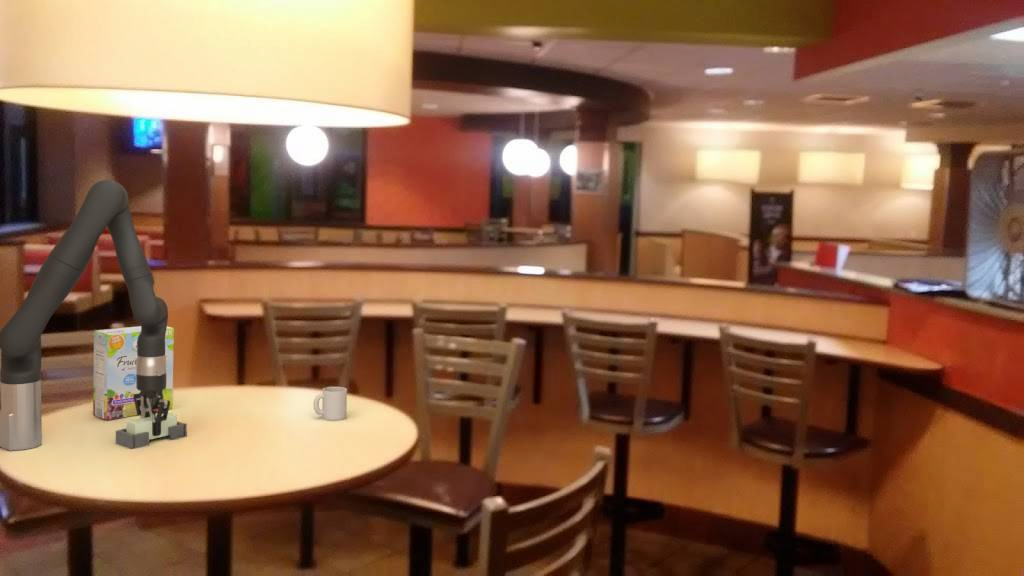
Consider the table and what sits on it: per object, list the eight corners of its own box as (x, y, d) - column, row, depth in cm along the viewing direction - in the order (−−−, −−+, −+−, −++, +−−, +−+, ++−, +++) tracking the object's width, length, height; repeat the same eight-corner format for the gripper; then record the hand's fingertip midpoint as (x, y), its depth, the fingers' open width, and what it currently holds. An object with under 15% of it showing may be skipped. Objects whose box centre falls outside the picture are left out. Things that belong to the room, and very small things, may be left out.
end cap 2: (170, 431, 256) (170, 419, 256) (186, 436, 252) (186, 424, 251) (154, 434, 252) (154, 422, 252) (170, 440, 248) (170, 427, 247)
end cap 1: (131, 449, 238) (131, 436, 238) (115, 443, 243) (115, 430, 242) (148, 445, 242) (148, 432, 242) (133, 439, 247) (133, 427, 246)
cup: (348, 420, 275) (349, 391, 274) (315, 422, 271) (316, 393, 270) (343, 414, 282) (343, 386, 281) (310, 416, 278) (311, 387, 277)
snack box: (107, 422, 263) (106, 334, 260) (91, 416, 268) (90, 330, 265) (175, 409, 280) (174, 326, 277) (159, 404, 286) (158, 323, 283)
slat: (135, 442, 241) (135, 424, 240) (126, 439, 243) (126, 421, 243) (176, 433, 251) (176, 415, 251) (168, 430, 253) (168, 413, 253)
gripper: (123, 369, 246) (124, 431, 248) (154, 377, 238) (154, 441, 240) (148, 365, 252) (149, 426, 254) (179, 373, 244) (179, 436, 246)
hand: (151, 433), depth 247 cm, fingers closed on slat, 4 cm apart
